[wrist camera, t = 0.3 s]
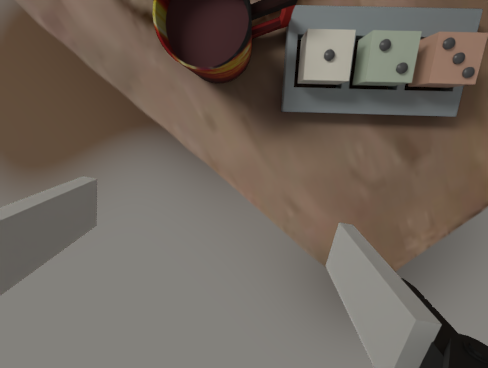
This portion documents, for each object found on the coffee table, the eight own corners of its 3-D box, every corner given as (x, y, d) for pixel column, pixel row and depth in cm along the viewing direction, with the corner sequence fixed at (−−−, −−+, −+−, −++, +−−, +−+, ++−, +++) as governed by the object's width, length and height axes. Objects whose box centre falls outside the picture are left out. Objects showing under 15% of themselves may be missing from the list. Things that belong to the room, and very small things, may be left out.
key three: (416, 41, 33) (441, 30, 29) (459, 42, 33) (491, 31, 28) (407, 86, 34) (430, 82, 30) (448, 87, 34) (477, 83, 30)
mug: (288, 26, 35) (306, -16, 23) (217, 97, 38) (202, 91, 26) (241, -35, 33) (236, -113, 22) (170, 45, 36) (132, 13, 24)
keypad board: (287, 12, 34) (290, 5, 32) (466, 16, 34) (483, 8, 31) (281, 111, 38) (282, 111, 36) (442, 116, 37) (455, 116, 35)
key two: (358, 40, 33) (374, 29, 29) (400, 41, 33) (423, 30, 29) (352, 85, 35) (366, 81, 30) (392, 86, 34) (413, 82, 30)
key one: (301, 38, 33) (308, 27, 29) (343, 39, 33) (356, 28, 29) (297, 83, 35) (303, 79, 30) (337, 84, 35) (349, 80, 30)
